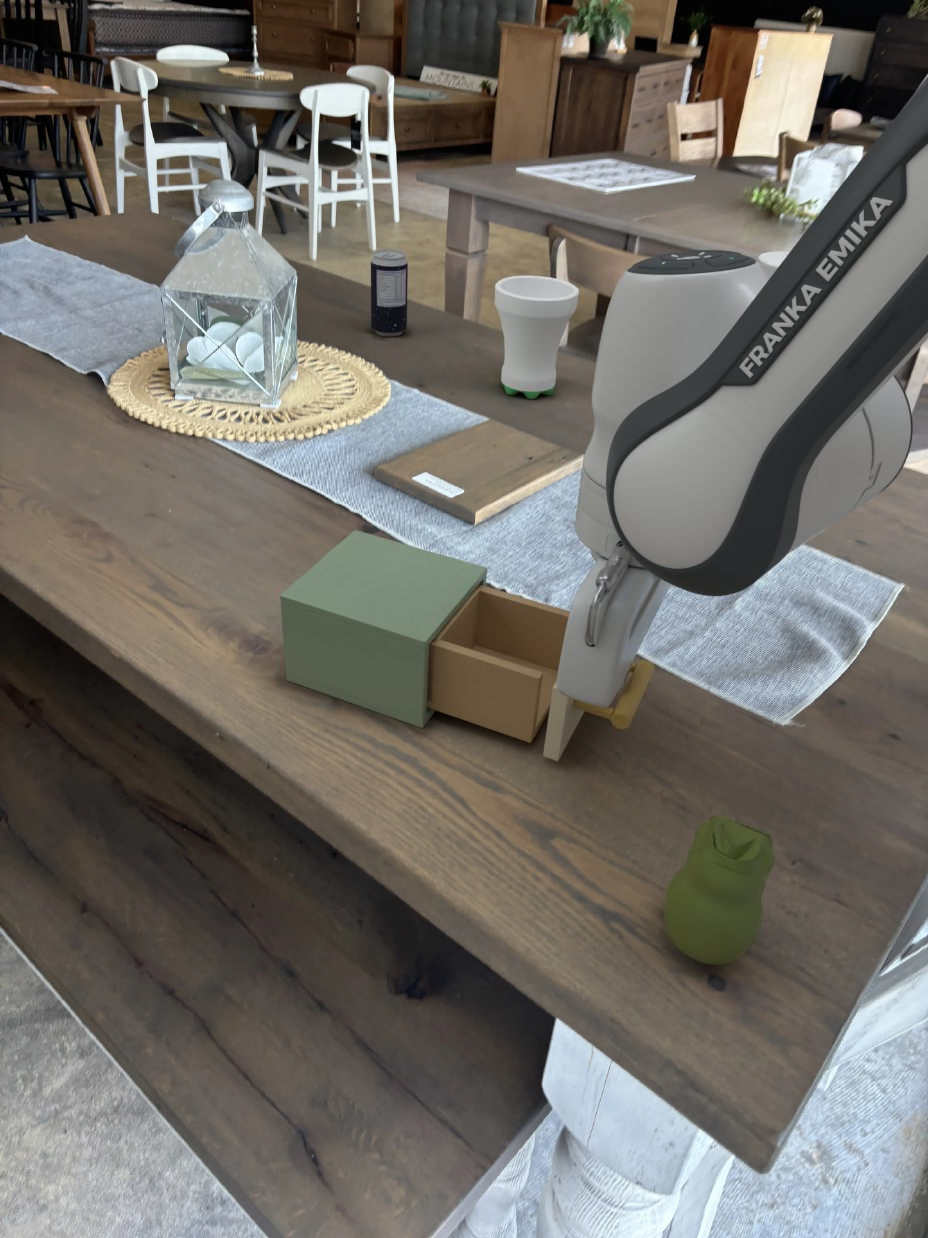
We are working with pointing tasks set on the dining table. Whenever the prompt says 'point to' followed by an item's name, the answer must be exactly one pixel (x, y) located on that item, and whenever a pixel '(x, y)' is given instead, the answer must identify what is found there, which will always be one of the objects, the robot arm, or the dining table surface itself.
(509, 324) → the cup
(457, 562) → the cabinet
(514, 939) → the dining table surface
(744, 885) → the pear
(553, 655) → the drawer
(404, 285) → the beverage can
